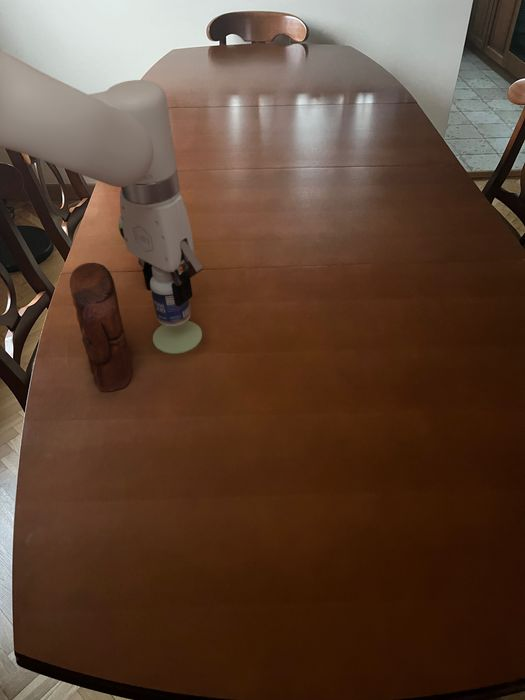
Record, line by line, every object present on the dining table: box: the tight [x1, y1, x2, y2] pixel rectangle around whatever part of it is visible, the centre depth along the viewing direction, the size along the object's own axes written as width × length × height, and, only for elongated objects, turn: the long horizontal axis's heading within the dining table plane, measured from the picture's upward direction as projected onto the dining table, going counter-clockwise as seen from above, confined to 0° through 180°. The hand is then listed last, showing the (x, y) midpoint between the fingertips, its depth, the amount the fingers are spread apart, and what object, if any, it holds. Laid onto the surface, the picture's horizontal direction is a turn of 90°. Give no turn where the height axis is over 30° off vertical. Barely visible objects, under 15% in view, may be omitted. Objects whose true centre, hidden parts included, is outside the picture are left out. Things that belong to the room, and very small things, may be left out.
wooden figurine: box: [69, 262, 133, 393], centre depth 85 cm, size 12×6×18 cm, turn 16°
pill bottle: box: [150, 265, 192, 327], centre depth 90 cm, size 5×5×10 cm
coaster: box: [152, 320, 203, 355], centre depth 96 cm, size 8×8×1 cm
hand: (169, 292), depth 90 cm, fingers closed on pill bottle, 5 cm apart
